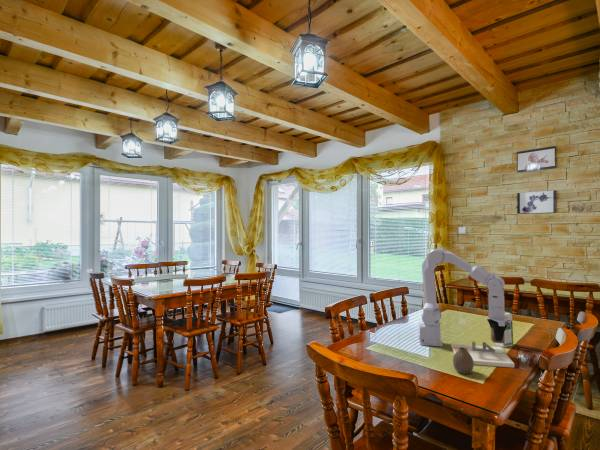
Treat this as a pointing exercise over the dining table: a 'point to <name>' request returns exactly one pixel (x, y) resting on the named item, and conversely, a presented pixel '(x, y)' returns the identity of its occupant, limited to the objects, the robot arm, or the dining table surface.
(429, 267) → the robot arm
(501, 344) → the syrup box
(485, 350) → the bent wire
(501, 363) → the board
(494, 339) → the walnut block
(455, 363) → the vase
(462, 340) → the dining table surface
